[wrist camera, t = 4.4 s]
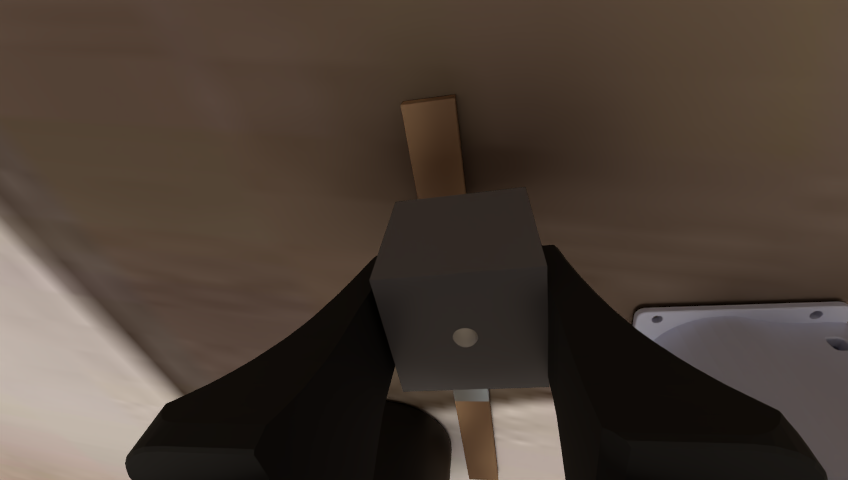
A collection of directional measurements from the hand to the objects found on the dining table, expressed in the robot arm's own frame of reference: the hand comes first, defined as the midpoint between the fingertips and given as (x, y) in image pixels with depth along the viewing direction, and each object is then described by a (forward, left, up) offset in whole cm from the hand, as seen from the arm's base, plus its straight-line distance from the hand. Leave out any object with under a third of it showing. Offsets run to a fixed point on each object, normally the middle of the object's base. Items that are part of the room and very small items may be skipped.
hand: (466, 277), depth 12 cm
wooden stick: (+1, +10, -7) cm, 13 cm away
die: (0, 0, -2) cm, 2 cm away
